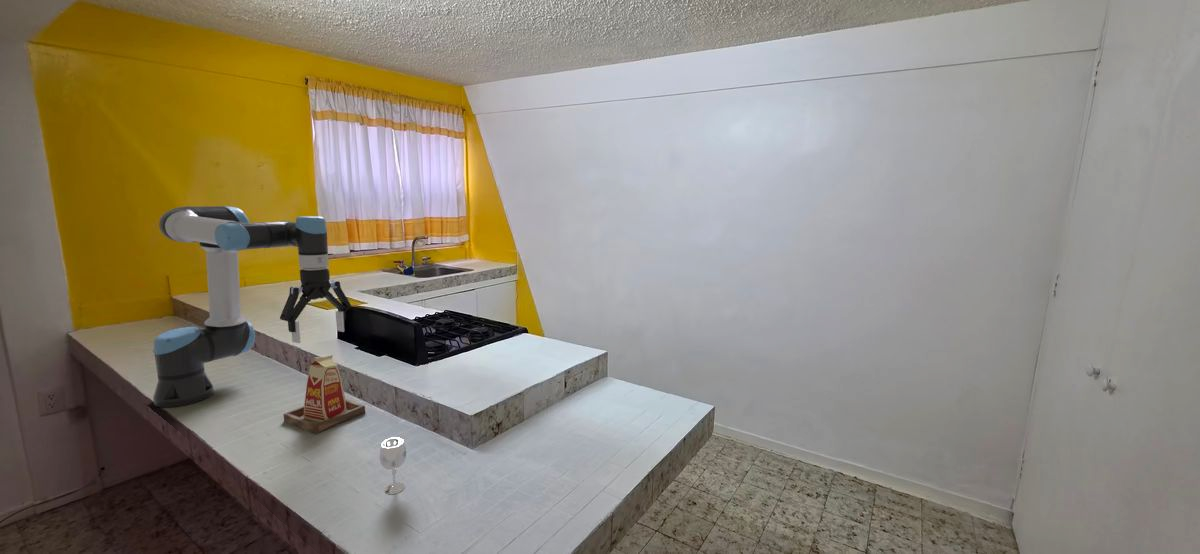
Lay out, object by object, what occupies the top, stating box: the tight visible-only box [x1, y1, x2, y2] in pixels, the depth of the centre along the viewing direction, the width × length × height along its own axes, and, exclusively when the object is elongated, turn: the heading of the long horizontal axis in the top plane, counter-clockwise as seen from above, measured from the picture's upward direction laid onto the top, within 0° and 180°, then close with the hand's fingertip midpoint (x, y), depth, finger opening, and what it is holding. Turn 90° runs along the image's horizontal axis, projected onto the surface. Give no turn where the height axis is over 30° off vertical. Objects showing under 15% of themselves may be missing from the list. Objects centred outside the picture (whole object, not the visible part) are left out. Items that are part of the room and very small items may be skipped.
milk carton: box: [303, 354, 347, 422], centre depth 143 cm, size 9×9×20 cm
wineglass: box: [379, 437, 407, 495], centre depth 109 cm, size 6×6×12 cm
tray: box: [282, 398, 366, 435], centre depth 144 cm, size 16×16×2 cm
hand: (319, 336), depth 140 cm, fingers open, 13 cm apart
